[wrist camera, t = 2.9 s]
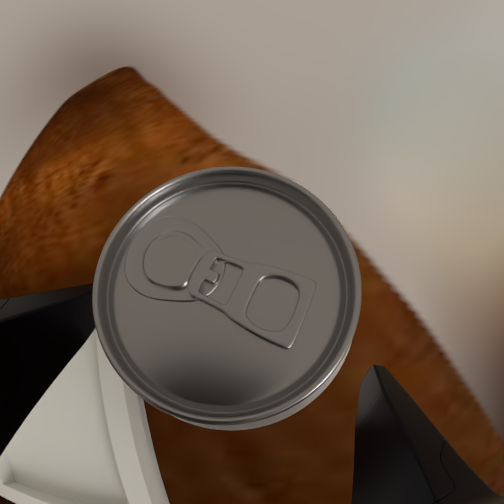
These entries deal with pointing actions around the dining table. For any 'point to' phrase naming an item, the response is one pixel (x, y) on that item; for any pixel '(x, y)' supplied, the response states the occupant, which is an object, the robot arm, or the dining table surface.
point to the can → (227, 297)
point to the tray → (84, 441)
